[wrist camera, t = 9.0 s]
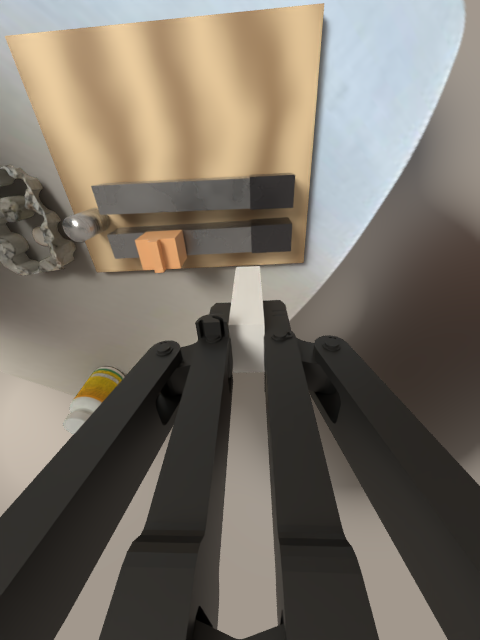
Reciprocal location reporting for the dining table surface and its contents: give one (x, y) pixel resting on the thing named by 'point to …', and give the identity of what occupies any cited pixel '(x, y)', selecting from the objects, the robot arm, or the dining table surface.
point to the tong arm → (196, 194)
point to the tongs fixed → (188, 234)
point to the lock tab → (161, 250)
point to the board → (179, 112)
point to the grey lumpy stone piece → (13, 246)
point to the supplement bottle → (91, 396)
